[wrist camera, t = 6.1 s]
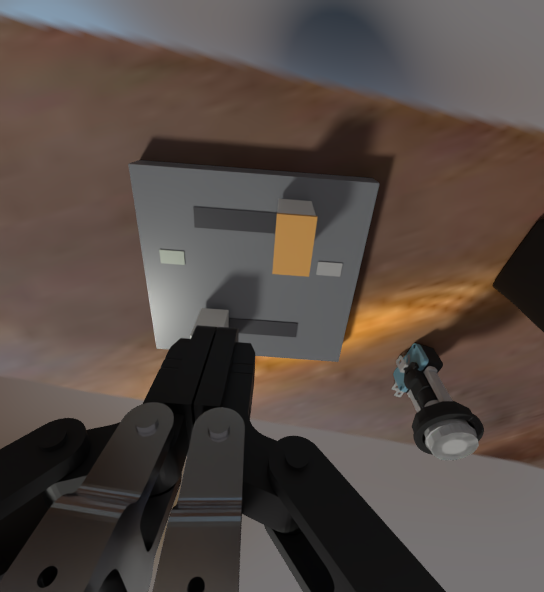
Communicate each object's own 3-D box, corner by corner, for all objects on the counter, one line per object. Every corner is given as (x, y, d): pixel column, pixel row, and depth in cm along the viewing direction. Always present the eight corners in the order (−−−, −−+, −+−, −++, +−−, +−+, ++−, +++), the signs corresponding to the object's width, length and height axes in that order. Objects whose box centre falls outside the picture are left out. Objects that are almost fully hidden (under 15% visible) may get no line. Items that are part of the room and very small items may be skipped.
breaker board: (372, 178, 24) (399, 198, 19) (335, 348, 33) (345, 397, 27) (139, 160, 24) (96, 174, 19) (163, 335, 33) (138, 382, 27)
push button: (413, 391, 36) (454, 480, 27) (370, 380, 35) (398, 468, 26) (447, 348, 32) (506, 433, 24) (400, 334, 32) (443, 418, 23)
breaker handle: (312, 200, 23) (317, 217, 19) (305, 252, 25) (309, 276, 21) (277, 197, 23) (276, 213, 19) (273, 250, 25) (272, 274, 21)
